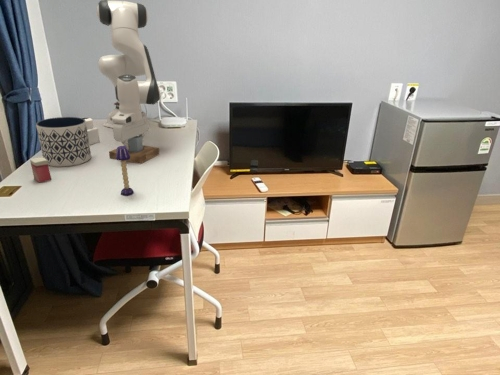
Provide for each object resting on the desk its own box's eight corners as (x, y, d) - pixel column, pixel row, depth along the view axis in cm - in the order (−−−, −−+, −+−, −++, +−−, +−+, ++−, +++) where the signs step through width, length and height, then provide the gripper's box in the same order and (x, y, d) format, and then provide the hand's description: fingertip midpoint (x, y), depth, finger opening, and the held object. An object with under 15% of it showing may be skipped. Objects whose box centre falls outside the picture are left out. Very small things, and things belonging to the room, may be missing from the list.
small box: (33, 179, 127) (29, 159, 124) (46, 176, 130) (42, 156, 127) (39, 183, 125) (34, 162, 121) (51, 179, 128) (47, 159, 124)
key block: (138, 156, 153) (136, 138, 149) (128, 154, 154) (126, 137, 151) (144, 153, 157) (143, 136, 154) (135, 151, 158) (133, 134, 155)
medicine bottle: (77, 143, 168) (73, 119, 163) (89, 139, 174) (85, 116, 169) (89, 145, 166) (85, 120, 161) (100, 141, 172) (96, 118, 167)
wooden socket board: (109, 158, 151) (108, 151, 150) (130, 149, 163) (129, 143, 162) (140, 163, 146) (140, 157, 145) (159, 154, 158) (158, 147, 157)
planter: (44, 155, 150) (36, 118, 144) (89, 151, 158) (84, 115, 152) (43, 169, 136) (34, 129, 129) (93, 164, 144) (87, 125, 137)
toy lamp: (117, 193, 119) (111, 147, 113) (128, 188, 123) (123, 143, 116) (126, 196, 117) (120, 150, 110) (137, 192, 121) (132, 146, 114)
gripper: (139, 109, 157) (142, 139, 163) (108, 119, 139) (112, 151, 145) (151, 111, 155) (153, 141, 161) (121, 120, 137) (125, 153, 143)
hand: (134, 146), depth 153 cm, fingers open, 8 cm apart
